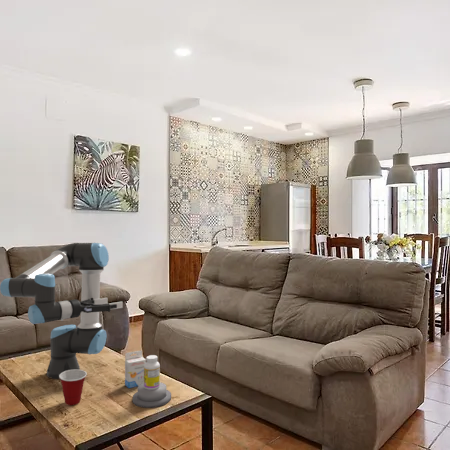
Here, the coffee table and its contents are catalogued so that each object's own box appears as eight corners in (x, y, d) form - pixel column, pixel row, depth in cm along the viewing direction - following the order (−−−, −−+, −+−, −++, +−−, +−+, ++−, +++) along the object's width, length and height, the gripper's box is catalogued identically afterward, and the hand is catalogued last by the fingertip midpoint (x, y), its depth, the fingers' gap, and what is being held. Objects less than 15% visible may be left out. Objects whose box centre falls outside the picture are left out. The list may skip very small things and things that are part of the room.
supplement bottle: (144, 384, 171) (144, 354, 171) (160, 383, 172) (160, 354, 172) (143, 390, 165) (143, 359, 165) (159, 390, 165) (159, 359, 165)
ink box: (128, 388, 179) (128, 356, 179) (124, 385, 183) (124, 353, 183) (146, 384, 184) (146, 352, 184) (142, 381, 188) (142, 349, 188)
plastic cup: (70, 411, 158) (70, 380, 158) (53, 404, 163) (53, 375, 163) (92, 400, 167) (92, 372, 167) (75, 394, 173) (75, 367, 173)
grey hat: (126, 406, 162) (126, 393, 162) (141, 390, 178) (141, 378, 178) (163, 409, 159) (163, 396, 159) (176, 392, 175) (176, 381, 175)
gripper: (57, 313, 177) (101, 306, 192) (81, 323, 159) (128, 315, 174) (57, 296, 177) (101, 291, 192) (81, 304, 159) (128, 297, 174)
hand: (114, 302), depth 183 cm, fingers open, 13 cm apart
